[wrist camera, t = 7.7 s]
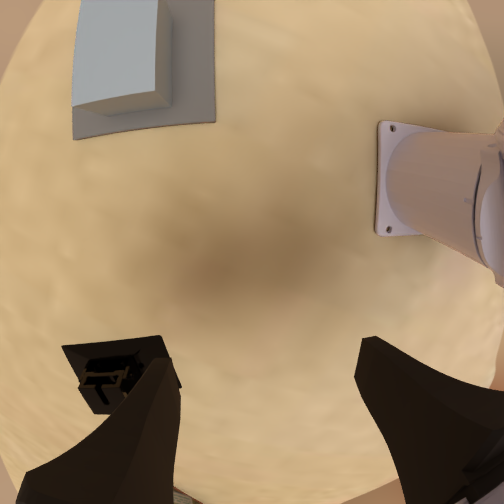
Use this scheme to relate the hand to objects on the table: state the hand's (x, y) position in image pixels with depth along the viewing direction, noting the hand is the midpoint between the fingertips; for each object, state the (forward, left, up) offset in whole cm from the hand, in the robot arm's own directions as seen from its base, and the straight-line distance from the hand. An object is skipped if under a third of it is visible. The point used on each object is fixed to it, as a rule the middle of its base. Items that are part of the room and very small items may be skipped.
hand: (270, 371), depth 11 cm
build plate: (+11, +8, -11) cm, 17 cm away
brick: (+6, -14, -9) cm, 18 cm away
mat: (+6, -14, -10) cm, 18 cm away
